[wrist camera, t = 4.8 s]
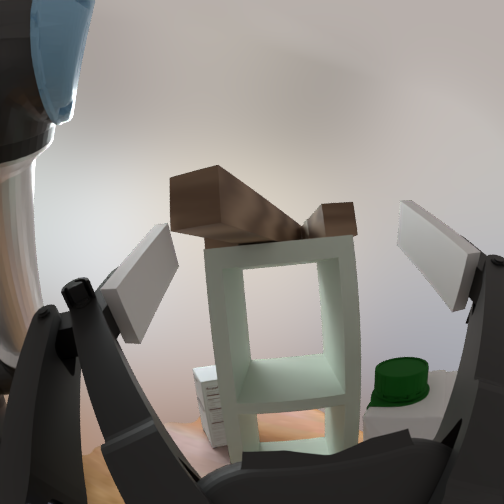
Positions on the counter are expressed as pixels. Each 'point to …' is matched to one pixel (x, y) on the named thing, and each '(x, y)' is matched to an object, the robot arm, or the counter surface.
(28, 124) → the robot arm
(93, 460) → the counter surface
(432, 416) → the milk carton
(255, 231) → the plain slat
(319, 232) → the banded slat
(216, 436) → the supplement box
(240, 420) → the shelf unit
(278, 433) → the counter surface
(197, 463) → the counter surface
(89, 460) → the counter surface
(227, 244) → the banded slat
